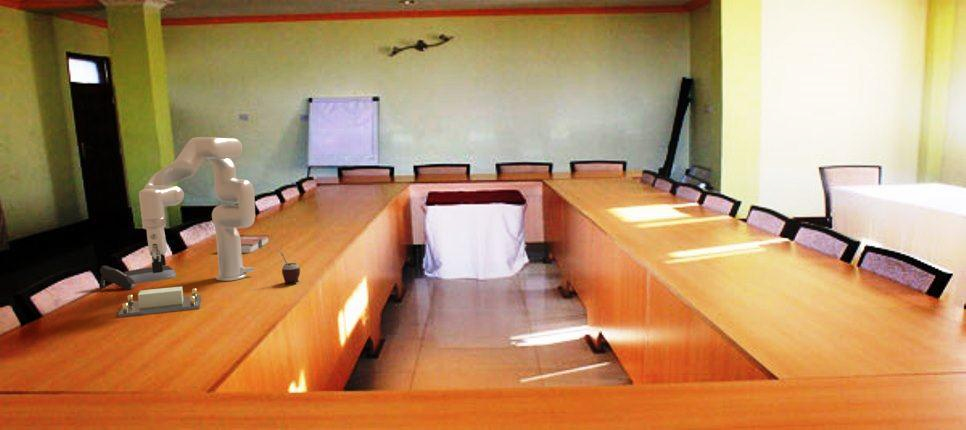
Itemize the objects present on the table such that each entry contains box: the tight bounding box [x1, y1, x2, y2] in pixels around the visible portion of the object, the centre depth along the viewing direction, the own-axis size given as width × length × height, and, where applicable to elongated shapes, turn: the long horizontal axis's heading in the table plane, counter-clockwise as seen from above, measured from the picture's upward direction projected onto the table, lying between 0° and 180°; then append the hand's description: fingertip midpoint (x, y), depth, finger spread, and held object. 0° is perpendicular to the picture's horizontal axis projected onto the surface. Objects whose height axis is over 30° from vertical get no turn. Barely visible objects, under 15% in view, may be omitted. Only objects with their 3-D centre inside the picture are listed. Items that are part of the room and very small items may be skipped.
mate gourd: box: [275, 248, 301, 286], centre depth 262 cm, size 8×8×15 cm
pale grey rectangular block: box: [137, 286, 184, 308], centre depth 232 cm, size 14×6×5 cm, turn 111°
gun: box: [99, 265, 136, 291], centre depth 258 cm, size 3×16×10 cm, turn 79°
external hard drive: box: [123, 265, 177, 285], centre depth 274 cm, size 13×19×4 cm
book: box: [240, 234, 270, 254], centre depth 333 cm, size 26×18×5 cm
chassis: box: [117, 287, 203, 318], centre depth 232 cm, size 26×15×4 cm, turn 111°
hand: (159, 269), depth 231 cm, fingers open, 9 cm apart
